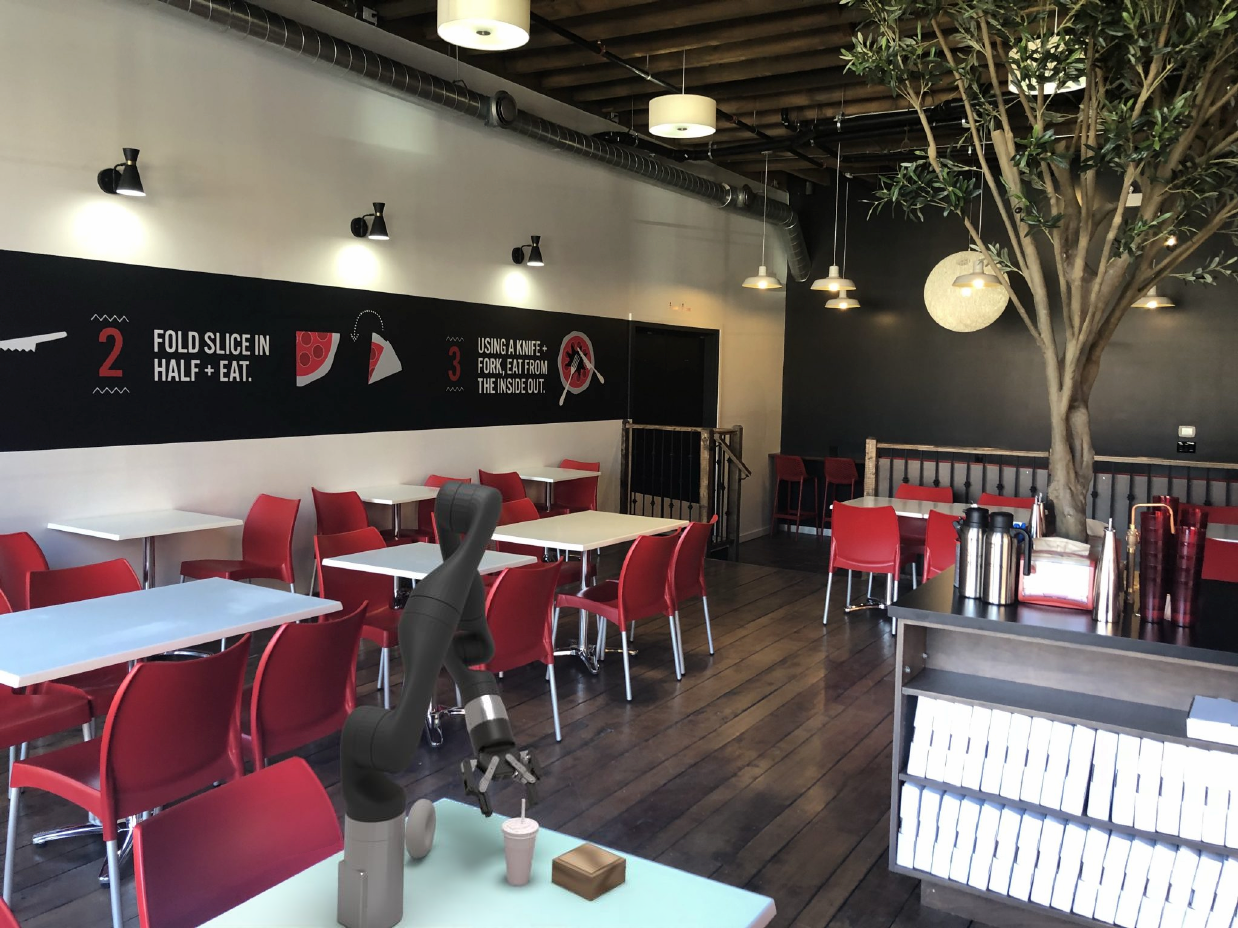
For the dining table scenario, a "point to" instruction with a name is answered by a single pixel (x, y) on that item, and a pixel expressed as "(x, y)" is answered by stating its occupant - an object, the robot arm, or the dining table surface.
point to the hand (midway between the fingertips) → (512, 810)
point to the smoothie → (519, 847)
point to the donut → (420, 828)
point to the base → (588, 871)
